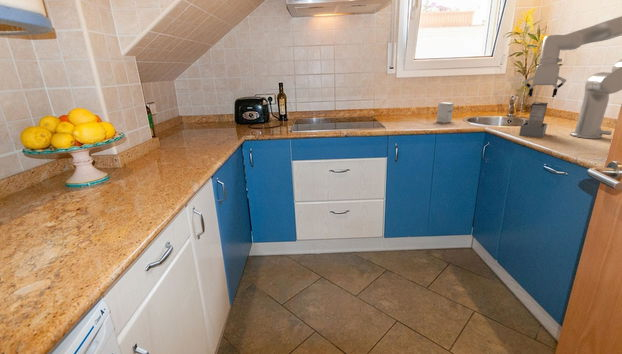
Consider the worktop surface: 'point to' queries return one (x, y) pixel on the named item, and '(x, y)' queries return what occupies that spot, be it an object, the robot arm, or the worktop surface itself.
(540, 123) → the coffee box
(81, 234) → the worktop surface
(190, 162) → the worktop surface
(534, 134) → the bin
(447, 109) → the supplement box
